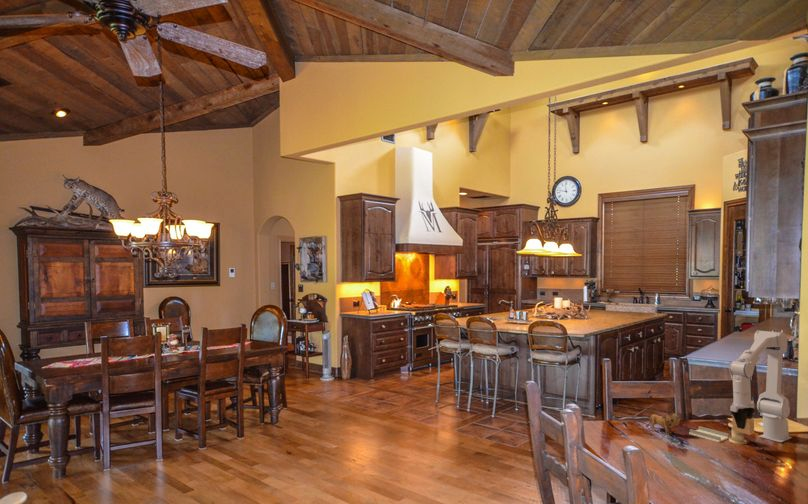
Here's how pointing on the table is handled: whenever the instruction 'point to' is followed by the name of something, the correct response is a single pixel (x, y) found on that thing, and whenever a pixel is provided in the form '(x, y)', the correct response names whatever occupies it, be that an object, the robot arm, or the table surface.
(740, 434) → the bobbin
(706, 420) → the table surface
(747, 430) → the tan block
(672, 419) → the lion figurine
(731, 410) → the robot arm
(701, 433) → the notched board
